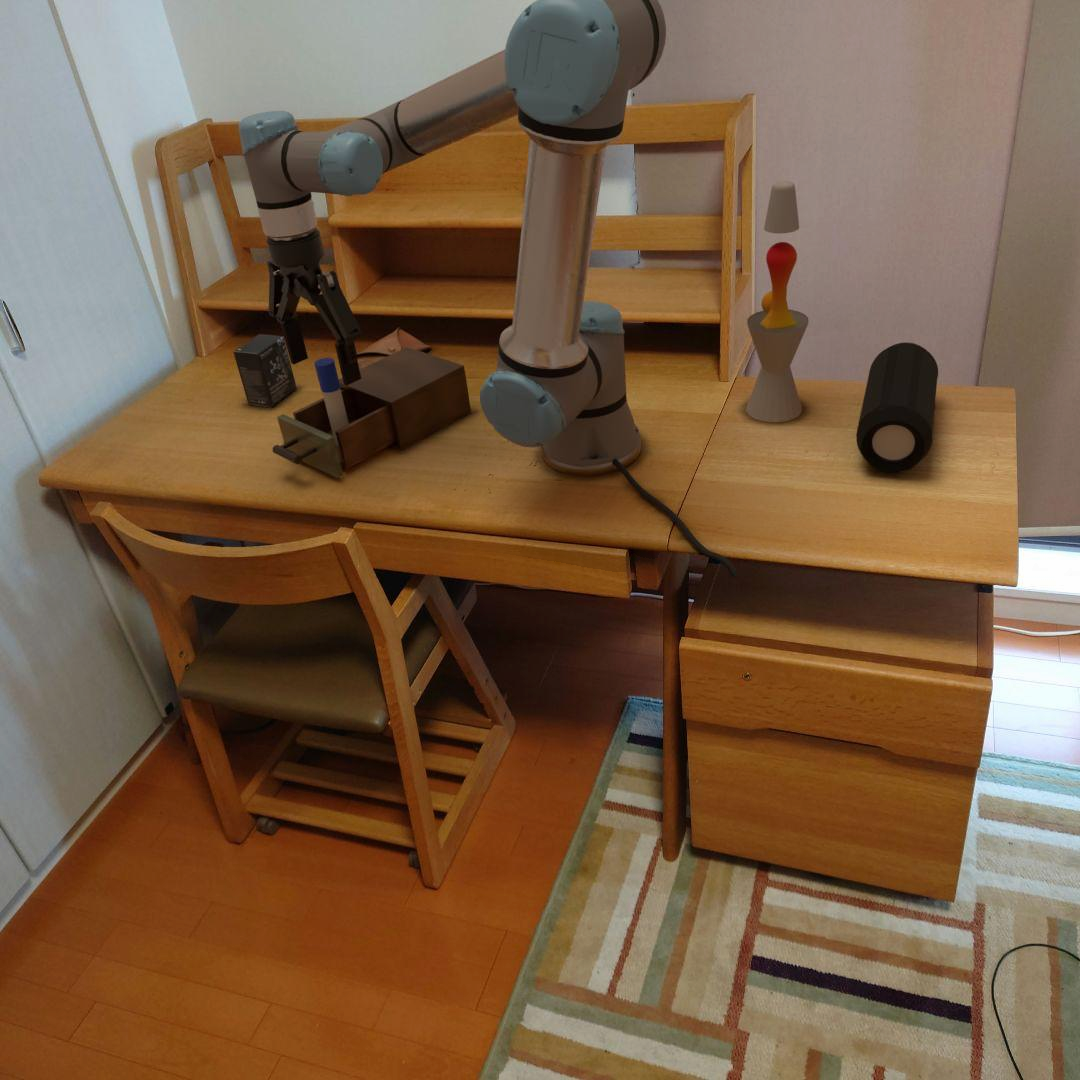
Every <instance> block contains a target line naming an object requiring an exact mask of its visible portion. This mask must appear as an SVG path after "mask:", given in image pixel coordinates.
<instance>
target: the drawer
mask: <svg viewBox="0 0 1080 1080" xmlns="http://www.w3.org/2000/svg"><path fill="white" fill-rule="evenodd" d="M341 394H342V398H343V402H344V406H345V410H346V415H347V419H348V423H349V425H347V426H345V427H343V428H341V429H339V430H337V431H335V432H336V436H337V440H338V444H339V446H337V445H336V444H335V440H334V437H333V433H332V429H331V425H330V421H329V417H328V413H327V409H326V405H325V401H324V397H322V398H320V399H318V400H316V401H314V402H312V403H310V404H307V405H306V406H304V407H301V408H299V409H297V410H296V411H293V412H292V415H293V417H291V416H288V415H286V414H285V413H282V414H280V415H277V416H276V419H277V422H278V425H279V429H280V433H281V436H282V439H283V444H281V445H279V444H275V445H273V446H272V453H273V454H274V455H276V456H279V457H281V458H284V459H285V460H288V461H290V462H291V463H293V464H295V465H300V464H301V463H305V464H307V465H309V466H311V467H313V468H314V469H315V468H316V469H317V470H319V471H321V472H323V473H325V474H328V475H329V476H331V477H334V478H336V479H339V478H341V477H343V476H344V472H343V468H345V469H348V468H350V467H352V466H355V465H356V464H358V463H359V462H361V461H363V460H365V459H367V458H368V457H371V456H373V455H374V454H376V453H378V452H380V451H382V450H383V449H385V448H387V447H390V446H389V445H391V444H393V443H394V442H396V441H397V440H396V435H395V430H394V426H393V421H392V416H391V411H390V407H389V406H388V405H385V404H383V403H380V402H378V401H375V400H373V399H370V398H367V397H365V396H362V395H360V394H357V393H355V392H352V391H349V390H347V389H344V388H343V389H341ZM342 467H343V468H342Z"/></svg>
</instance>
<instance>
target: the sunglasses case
mask: <svg viewBox="0 0 1080 1080" xmlns="http://www.w3.org/2000/svg"><path fill="white" fill-rule="evenodd" d="M406 347H408V348H411V349H414V350H417V351H421V352H424V353H426V352H427V351H428V350H429V349H431V348H432V345H428V344H426V343H424V342H423V341H421V340H419V339H418V338H416V337H414V336H413V335H411V334H410V333H408V332H406V331H405V330H403V329H402V328H401V326H400V327H397V328H396V329H395V330H394V331H393V332H391V333H389V334H388V335H386V336H384V337H381V339H378V340H377V341H375V342H374V343H372V344H370V345H369V346H367V347H365V348H364V349H362V350H361V351H359V352H358V353H357V357H358V365H359V370H360V369H362V368H364V367H366V366H368V365H370V364H372V363H375V362H377V361H379V360H381V359H383V358H385V357H387V356H389V355H391V354H393V353H395V352H398V351H400V350H402V349H404V348H406ZM340 374H341V375H342V373H341V372H340Z"/></svg>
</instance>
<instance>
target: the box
mask: <svg viewBox="0 0 1080 1080" xmlns="http://www.w3.org/2000/svg"><path fill="white" fill-rule="evenodd" d="M232 353H233V356H234V359H235V363H236V366H237V367H236V368H237V370H238V374H239V377H240V380H241V384H242V387H243V391H244V394H245V397H246V401H247V403H248V405H250V406H251V405H252V406H257V407H264V408H270V409H271V408H273V407H275V406H276V404H278V403H280V402H281V401H282V400H283V399H285V398H286V397H287V396H289V395H290V394H292V393H293V392H295V391H296V390H297V389H298V388H297V383H296V380H295V375H294V371H293V368H292V364H291V360H290V357H289V353H288V349H287V345H286V341H285V338H284V335H283V336H282V335H274V334H263V333H259V334H257V335H256V336H254V337H253V338H251V339H250V340H248V341H247V342H246V343H244V344H242V345H241V346H239V347H238V348H235V349H234V350H233V352H232Z"/></svg>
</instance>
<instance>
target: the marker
mask: <svg viewBox="0 0 1080 1080" xmlns="http://www.w3.org/2000/svg"><path fill="white" fill-rule="evenodd" d="M314 369H315V372H316V375H317V379H318V383H319V388H320V391H321V393H322V398H324V401H325V405H326V409H327V413H328V417H329V421H330V425H331V429H332V433H333V437H334V440H335V444H336V445H337V446H339V444H338V440H337V436H336V432H335V431H337V430H339V429H341V428H343V427H345V426H347V425H349V423H348V419H347V415H346V410H345V406H344V402H343V398H342V394H341V390H340V383H339V379H340V378H339V375H338V370H337V367H336V363H335V359H334V358H332V357H322V358H319V359H317V360H316V361H315V362H314Z"/></svg>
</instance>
